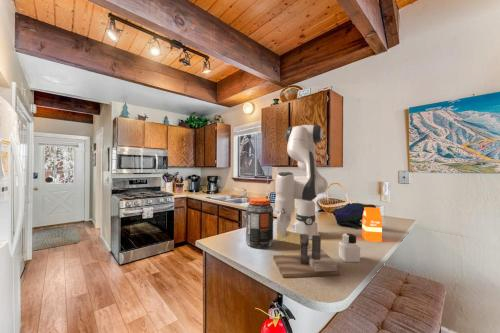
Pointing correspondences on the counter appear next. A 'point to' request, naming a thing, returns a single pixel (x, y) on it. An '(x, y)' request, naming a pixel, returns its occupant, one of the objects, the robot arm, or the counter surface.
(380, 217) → the orange juice
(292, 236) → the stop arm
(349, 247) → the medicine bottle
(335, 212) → the navy cloth bag
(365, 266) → the counter surface
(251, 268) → the counter surface
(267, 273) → the counter surface
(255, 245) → the supplement tub
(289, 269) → the lock plate
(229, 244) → the counter surface
